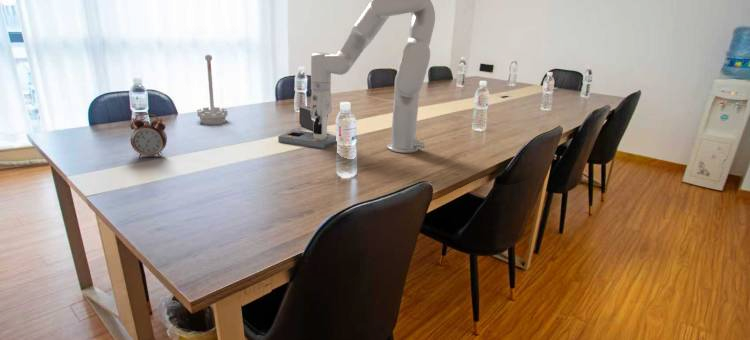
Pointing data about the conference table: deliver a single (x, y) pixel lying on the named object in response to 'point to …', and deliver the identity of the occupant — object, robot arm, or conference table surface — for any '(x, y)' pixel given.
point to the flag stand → (211, 103)
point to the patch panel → (306, 139)
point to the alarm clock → (148, 136)
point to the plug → (324, 129)
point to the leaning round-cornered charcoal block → (305, 117)
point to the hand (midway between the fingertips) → (320, 132)
